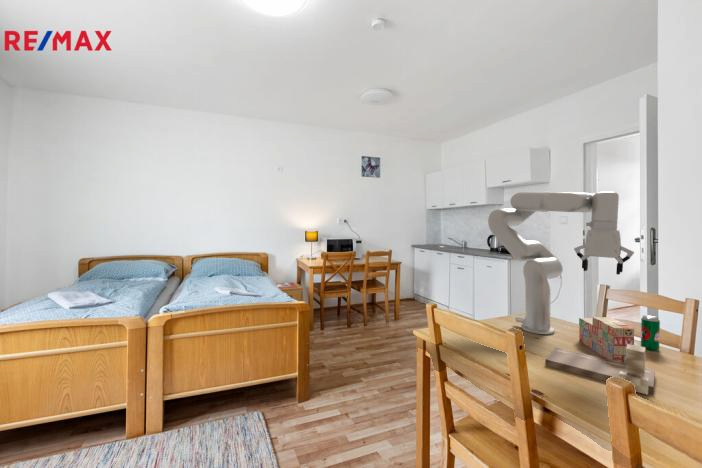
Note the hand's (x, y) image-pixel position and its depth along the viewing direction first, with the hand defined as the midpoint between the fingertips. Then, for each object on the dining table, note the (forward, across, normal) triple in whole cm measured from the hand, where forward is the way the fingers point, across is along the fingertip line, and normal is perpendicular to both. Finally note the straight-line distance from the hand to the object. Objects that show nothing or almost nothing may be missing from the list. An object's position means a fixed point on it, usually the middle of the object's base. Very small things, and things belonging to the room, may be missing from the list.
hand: (601, 272), depth 118 cm
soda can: (+29, +14, +13) cm, 34 cm away
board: (+28, +4, -22) cm, 36 cm away
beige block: (+28, +13, -24) cm, 39 cm away
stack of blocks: (+29, +2, -1) cm, 29 cm away
